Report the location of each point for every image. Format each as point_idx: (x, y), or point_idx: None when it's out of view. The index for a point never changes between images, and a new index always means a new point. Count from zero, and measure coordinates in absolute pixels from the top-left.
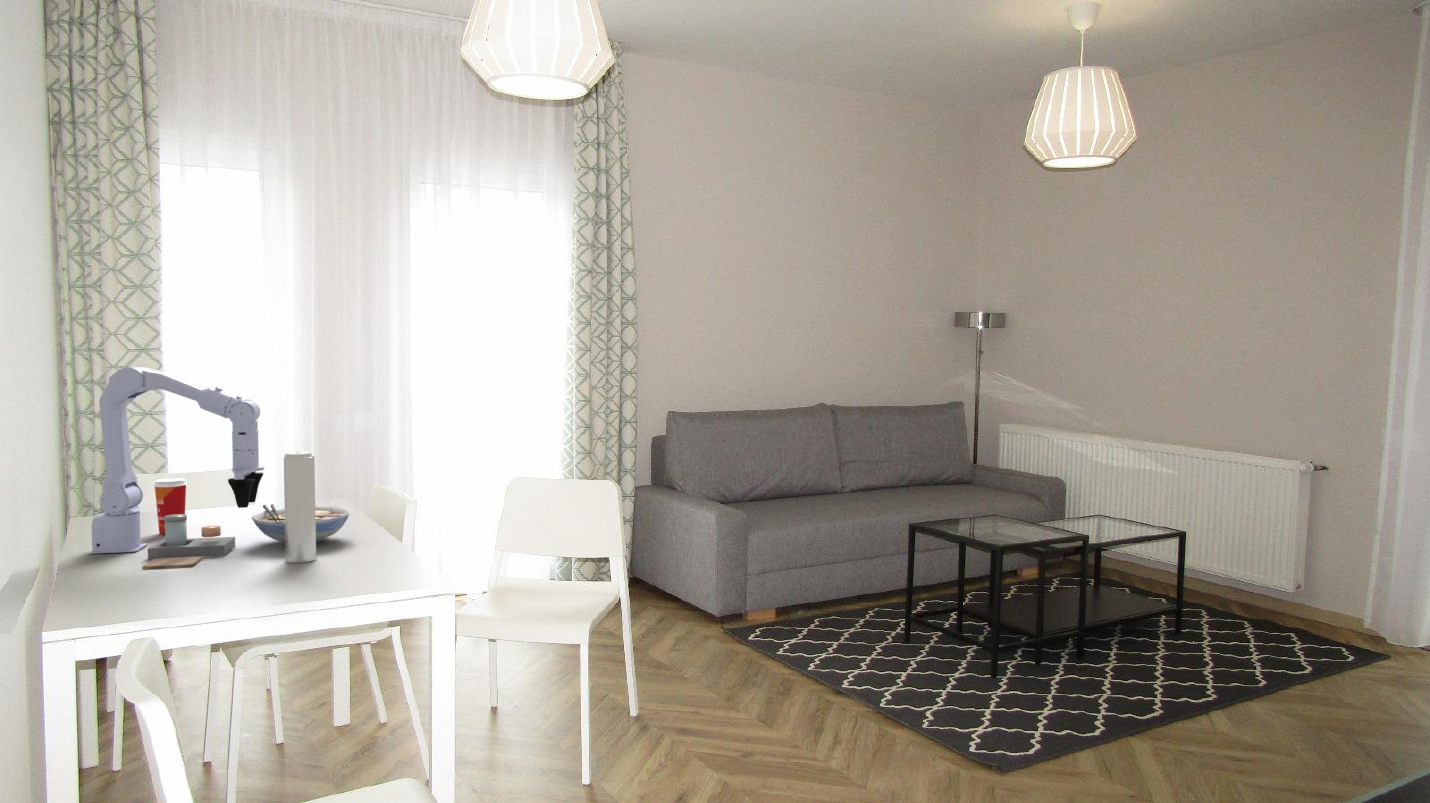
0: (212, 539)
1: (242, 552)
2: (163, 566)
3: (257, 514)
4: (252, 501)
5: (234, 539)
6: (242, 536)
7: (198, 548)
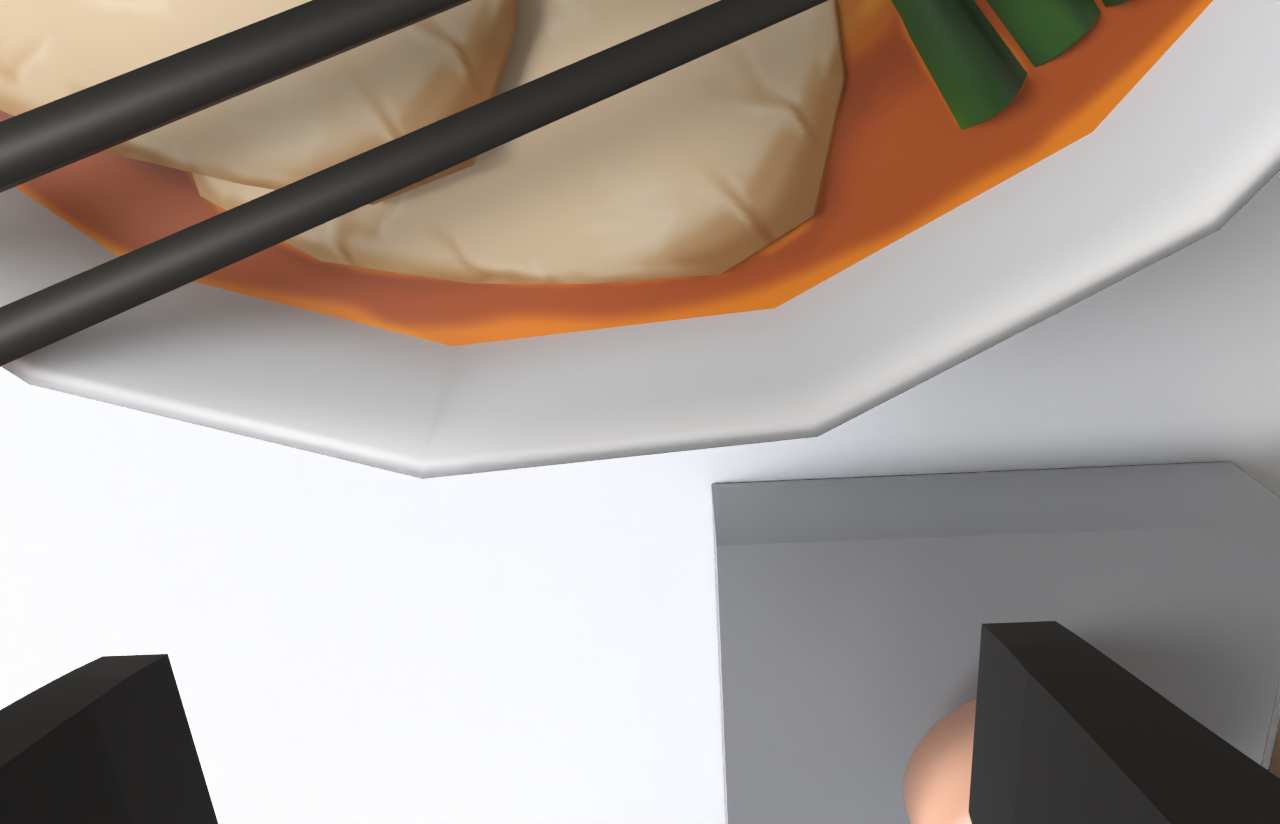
0: (844, 746)
1: (1075, 312)
2: None
3: (367, 429)
4: (173, 705)
5: (750, 529)
6: (106, 565)
7: None
